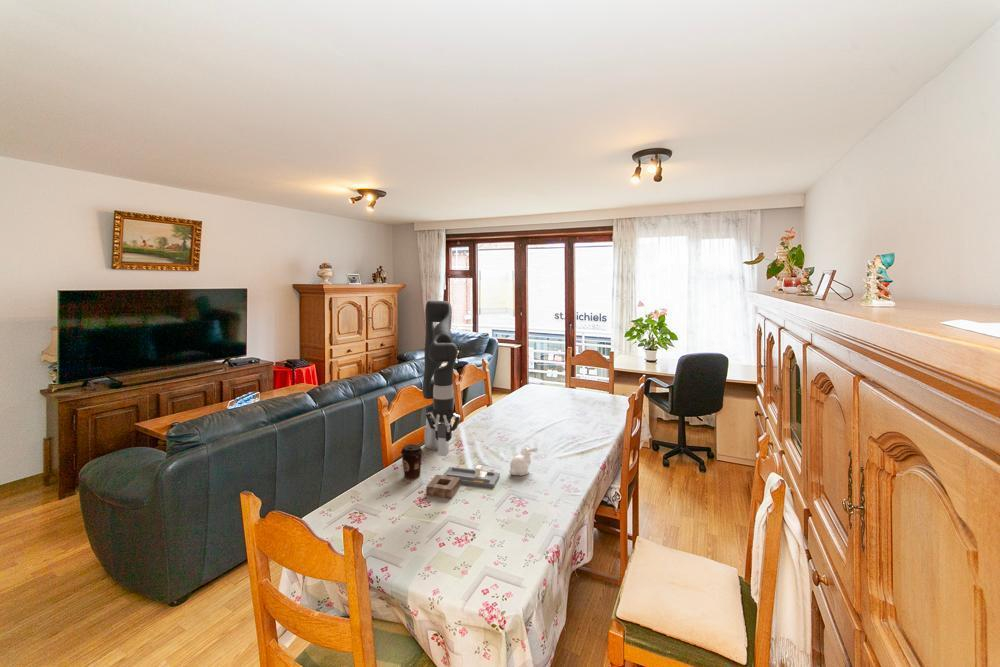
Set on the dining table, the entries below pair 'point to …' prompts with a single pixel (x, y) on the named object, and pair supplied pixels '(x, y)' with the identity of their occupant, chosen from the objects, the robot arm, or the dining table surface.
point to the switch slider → (480, 472)
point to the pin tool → (442, 440)
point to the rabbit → (521, 462)
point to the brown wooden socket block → (443, 486)
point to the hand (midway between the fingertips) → (443, 439)
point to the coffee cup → (411, 461)
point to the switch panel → (473, 477)
